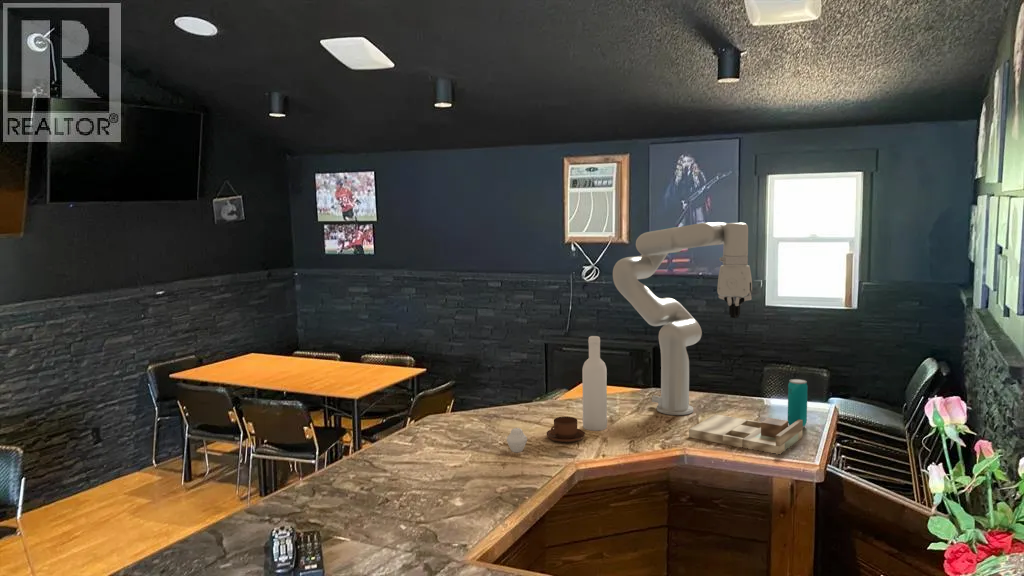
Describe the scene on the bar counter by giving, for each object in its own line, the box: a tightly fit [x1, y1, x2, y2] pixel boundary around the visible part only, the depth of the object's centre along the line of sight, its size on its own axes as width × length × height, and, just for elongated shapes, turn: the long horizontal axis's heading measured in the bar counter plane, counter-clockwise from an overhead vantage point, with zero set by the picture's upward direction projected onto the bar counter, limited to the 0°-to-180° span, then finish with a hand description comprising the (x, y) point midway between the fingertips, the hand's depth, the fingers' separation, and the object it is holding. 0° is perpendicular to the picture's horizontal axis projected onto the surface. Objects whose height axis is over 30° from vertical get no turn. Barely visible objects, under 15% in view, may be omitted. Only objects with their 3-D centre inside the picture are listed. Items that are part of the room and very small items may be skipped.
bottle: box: [581, 335, 608, 432], centre depth 234 cm, size 8×8×30 cm
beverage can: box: [787, 378, 809, 429], centre depth 231 cm, size 6×6×15 cm
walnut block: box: [760, 417, 789, 438], centre depth 216 cm, size 6×6×4 cm
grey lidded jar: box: [506, 427, 528, 453], centre depth 213 cm, size 6×6×7 cm
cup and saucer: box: [546, 416, 586, 443], centre depth 224 cm, size 12×12×6 cm
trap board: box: [688, 413, 804, 455], centre depth 222 cm, size 28×20×6 cm
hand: (734, 317), depth 234 cm, fingers closed
